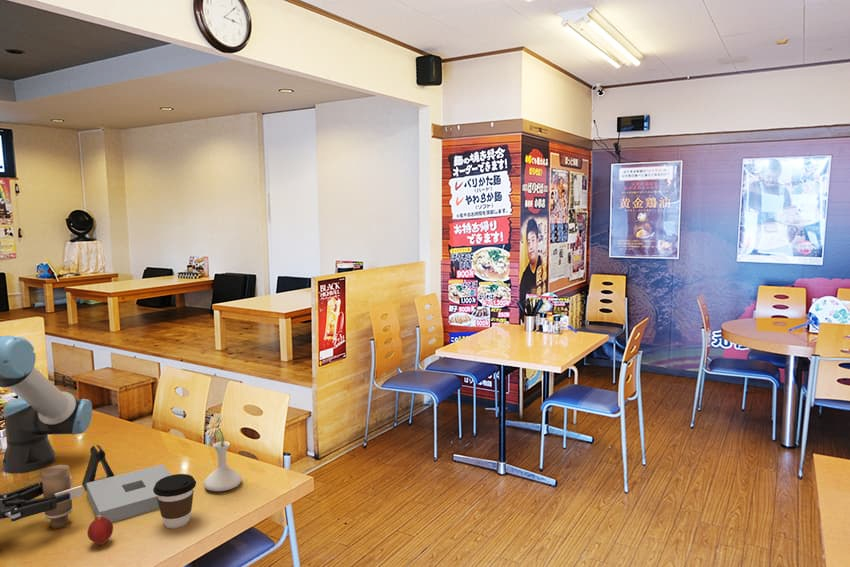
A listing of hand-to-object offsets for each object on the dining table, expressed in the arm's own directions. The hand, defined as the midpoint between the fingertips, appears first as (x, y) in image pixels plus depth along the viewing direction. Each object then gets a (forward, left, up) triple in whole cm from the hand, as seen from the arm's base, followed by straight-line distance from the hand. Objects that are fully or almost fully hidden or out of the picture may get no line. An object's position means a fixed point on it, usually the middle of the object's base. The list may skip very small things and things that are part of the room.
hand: (76, 485), depth 166 cm
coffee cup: (+1, +29, -10) cm, 30 cm away
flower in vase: (-20, +34, -10) cm, 40 cm away
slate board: (-12, +10, -10) cm, 18 cm away
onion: (+12, +14, -10) cm, 21 cm away
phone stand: (-21, -6, -10) cm, 24 cm away
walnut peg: (+4, -3, -10) cm, 11 cm away
